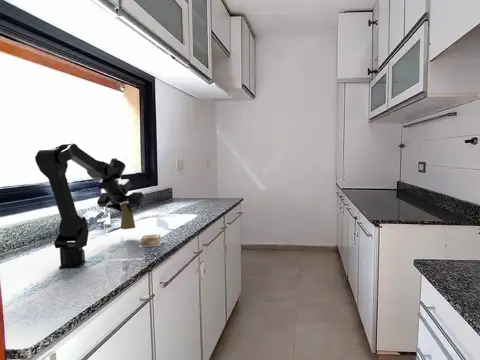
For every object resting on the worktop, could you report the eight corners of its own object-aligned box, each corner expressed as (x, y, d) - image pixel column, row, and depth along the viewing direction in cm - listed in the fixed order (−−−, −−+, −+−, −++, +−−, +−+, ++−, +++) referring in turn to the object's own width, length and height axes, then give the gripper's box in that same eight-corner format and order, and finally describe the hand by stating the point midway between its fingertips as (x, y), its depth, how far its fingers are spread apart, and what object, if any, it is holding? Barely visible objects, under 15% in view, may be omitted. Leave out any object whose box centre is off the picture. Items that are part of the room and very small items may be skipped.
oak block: (141, 246, 142) (140, 238, 142) (144, 242, 149) (143, 235, 148) (158, 245, 143) (157, 237, 142) (160, 241, 149) (160, 234, 149)
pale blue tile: (127, 250, 140) (127, 248, 140) (133, 243, 151) (133, 241, 151) (159, 248, 140) (159, 246, 140) (163, 241, 151) (163, 240, 151)
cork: (131, 229, 151) (129, 202, 150) (117, 229, 152) (116, 202, 152) (137, 226, 157) (136, 201, 156) (125, 226, 158) (123, 201, 157)
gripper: (140, 172, 147) (154, 196, 158) (99, 173, 152) (116, 197, 163) (130, 193, 140) (146, 217, 151) (88, 194, 144) (106, 217, 156)
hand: (128, 211), depth 155 cm, fingers closed on cork, 5 cm apart
